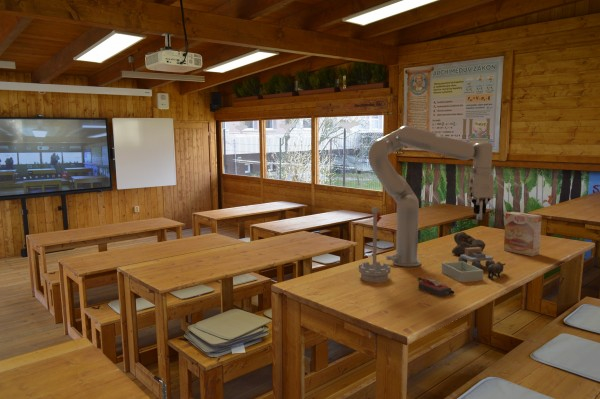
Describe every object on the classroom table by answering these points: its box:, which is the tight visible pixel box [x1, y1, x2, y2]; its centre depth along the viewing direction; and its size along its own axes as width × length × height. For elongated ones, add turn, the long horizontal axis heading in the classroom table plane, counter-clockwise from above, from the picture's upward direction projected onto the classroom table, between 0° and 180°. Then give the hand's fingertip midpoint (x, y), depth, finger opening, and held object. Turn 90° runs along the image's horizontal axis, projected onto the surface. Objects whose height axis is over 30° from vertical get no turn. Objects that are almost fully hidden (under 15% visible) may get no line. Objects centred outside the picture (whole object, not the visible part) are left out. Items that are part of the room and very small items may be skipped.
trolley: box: [457, 247, 496, 270], centre depth 209 cm, size 11×14×8 cm
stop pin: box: [475, 198, 483, 221], centre depth 205 cm, size 4×4×11 cm
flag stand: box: [358, 206, 391, 283], centre depth 193 cm, size 13×13×30 cm
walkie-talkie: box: [417, 276, 455, 298], centre depth 181 cm, size 9×4×20 cm
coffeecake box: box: [503, 211, 543, 257], centre depth 232 cm, size 15×7×20 cm, turn 37°
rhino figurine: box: [486, 261, 506, 281], centre depth 196 cm, size 4×14×6 cm, turn 134°
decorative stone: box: [451, 231, 486, 256], centre depth 232 cm, size 16×11×15 cm
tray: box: [441, 261, 484, 283], centre depth 196 cm, size 10×14×4 cm
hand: (479, 213), depth 205 cm, fingers closed on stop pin, 2 cm apart
